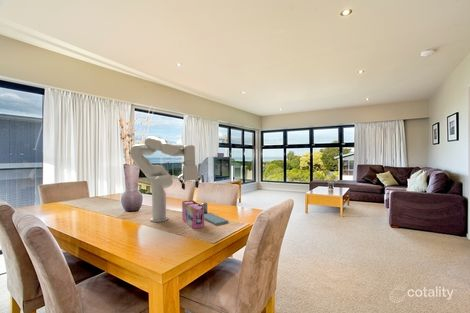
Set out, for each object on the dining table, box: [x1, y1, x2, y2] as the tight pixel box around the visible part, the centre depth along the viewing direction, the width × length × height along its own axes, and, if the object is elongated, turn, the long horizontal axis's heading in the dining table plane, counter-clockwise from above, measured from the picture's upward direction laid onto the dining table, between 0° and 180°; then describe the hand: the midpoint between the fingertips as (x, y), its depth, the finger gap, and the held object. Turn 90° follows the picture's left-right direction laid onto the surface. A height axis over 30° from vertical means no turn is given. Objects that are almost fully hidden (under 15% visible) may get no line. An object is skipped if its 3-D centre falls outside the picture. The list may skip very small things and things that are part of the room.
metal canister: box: [200, 202, 208, 214], centre depth 182 cm, size 5×5×8 cm
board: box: [204, 212, 229, 226], centre depth 165 cm, size 24×10×2 cm, turn 36°
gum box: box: [181, 200, 205, 229], centre depth 157 cm, size 24×8×14 cm, turn 31°
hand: (190, 188), depth 156 cm, fingers open, 9 cm apart
